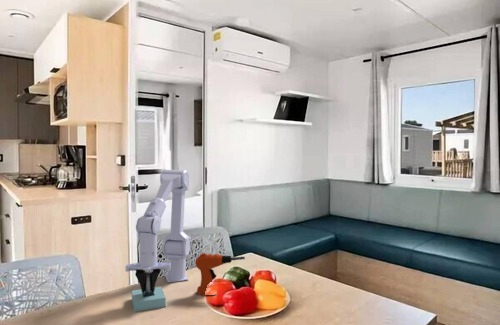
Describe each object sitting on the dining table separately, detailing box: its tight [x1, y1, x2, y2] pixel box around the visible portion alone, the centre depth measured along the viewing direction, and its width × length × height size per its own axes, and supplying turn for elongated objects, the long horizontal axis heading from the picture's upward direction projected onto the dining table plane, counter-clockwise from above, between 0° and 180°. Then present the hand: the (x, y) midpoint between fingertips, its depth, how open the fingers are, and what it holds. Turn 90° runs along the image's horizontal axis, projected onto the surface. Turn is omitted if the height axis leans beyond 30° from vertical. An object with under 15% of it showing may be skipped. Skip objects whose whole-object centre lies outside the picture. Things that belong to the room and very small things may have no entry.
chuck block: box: [131, 286, 167, 312], centre depth 120 cm, size 10×10×3 cm
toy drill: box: [195, 252, 246, 296], centre depth 128 cm, size 5×19×15 cm, turn 85°
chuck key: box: [145, 270, 153, 297], centre depth 120 cm, size 3×3×10 cm
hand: (148, 291), depth 120 cm, fingers closed on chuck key, 3 cm apart
